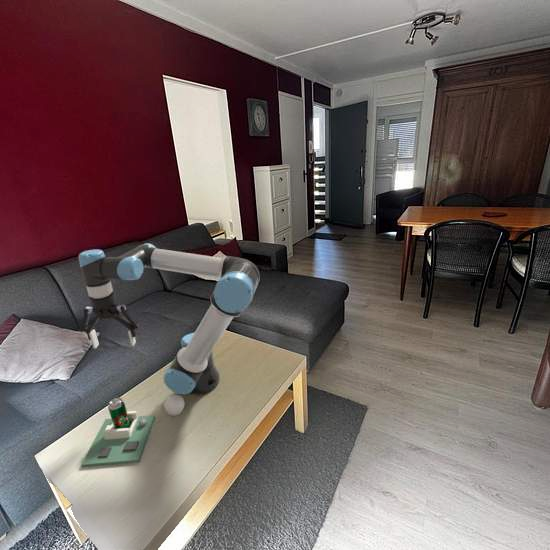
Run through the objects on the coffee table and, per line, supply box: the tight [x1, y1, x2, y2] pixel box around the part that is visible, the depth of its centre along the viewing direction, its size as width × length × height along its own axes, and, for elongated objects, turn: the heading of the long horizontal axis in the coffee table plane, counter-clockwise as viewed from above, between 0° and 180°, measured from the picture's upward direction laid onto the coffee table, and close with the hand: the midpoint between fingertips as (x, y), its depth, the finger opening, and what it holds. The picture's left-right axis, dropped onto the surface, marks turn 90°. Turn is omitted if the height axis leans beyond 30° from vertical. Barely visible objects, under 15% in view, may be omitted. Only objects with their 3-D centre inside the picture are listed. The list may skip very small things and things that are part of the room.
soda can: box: [107, 397, 130, 429], centre depth 107 cm, size 5×5×12 cm
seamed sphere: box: [156, 394, 185, 416], centre depth 115 cm, size 10×7×7 cm
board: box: [80, 410, 156, 468], centre depth 105 cm, size 18×18×5 cm
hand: (115, 345), depth 113 cm, fingers open, 13 cm apart
